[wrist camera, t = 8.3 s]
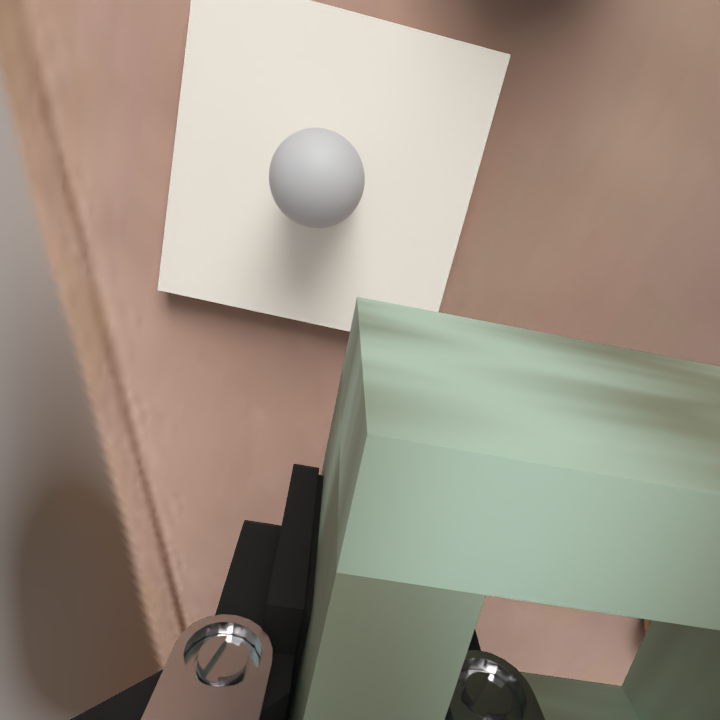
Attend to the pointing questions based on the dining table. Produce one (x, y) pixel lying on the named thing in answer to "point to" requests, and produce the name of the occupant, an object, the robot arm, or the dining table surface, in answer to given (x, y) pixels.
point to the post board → (351, 98)
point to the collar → (511, 515)
